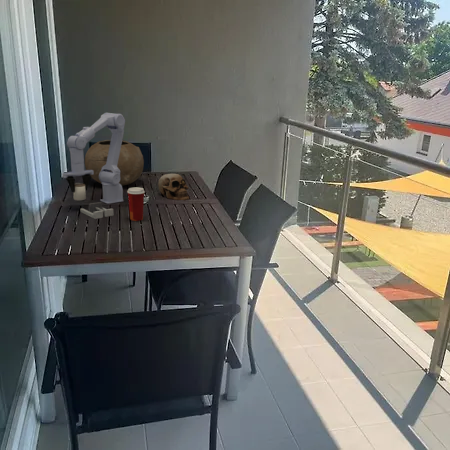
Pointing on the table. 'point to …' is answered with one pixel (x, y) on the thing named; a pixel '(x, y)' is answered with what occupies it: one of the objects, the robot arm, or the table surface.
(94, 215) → the lane
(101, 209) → the pusher
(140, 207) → the paper cup
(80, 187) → the jar
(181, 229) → the table surface
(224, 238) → the table surface
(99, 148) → the ceramic pot
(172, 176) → the tan skull
